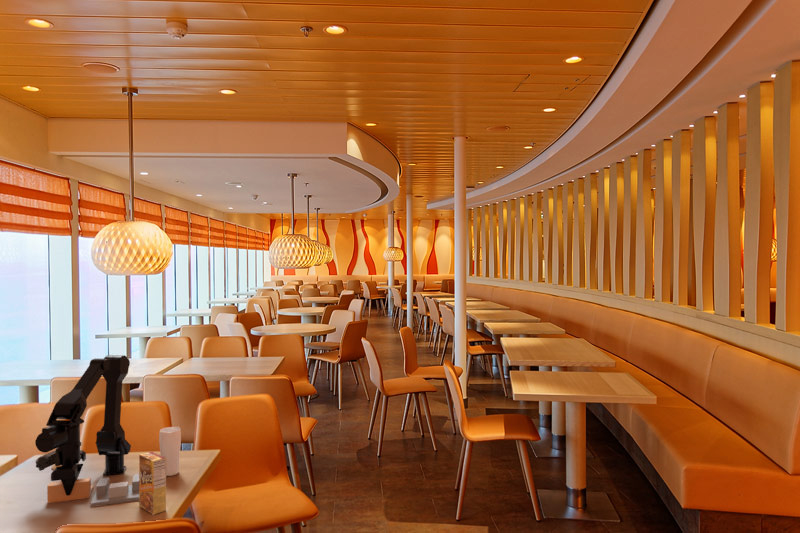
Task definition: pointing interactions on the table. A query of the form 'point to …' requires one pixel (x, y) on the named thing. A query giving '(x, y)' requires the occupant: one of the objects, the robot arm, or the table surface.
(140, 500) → the candy box
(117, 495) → the display stand
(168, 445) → the drinking glass
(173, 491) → the table surface
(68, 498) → the orange bracket
